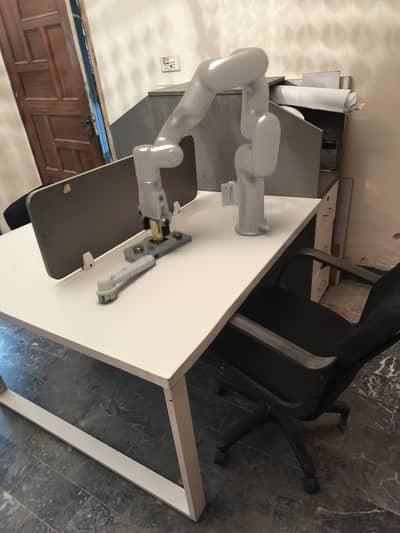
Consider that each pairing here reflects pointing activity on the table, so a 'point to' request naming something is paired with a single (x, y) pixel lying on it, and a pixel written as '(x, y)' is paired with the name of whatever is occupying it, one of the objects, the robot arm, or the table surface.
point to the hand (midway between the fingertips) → (157, 232)
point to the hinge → (229, 193)
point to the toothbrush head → (122, 277)
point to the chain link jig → (156, 246)
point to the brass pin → (156, 231)
